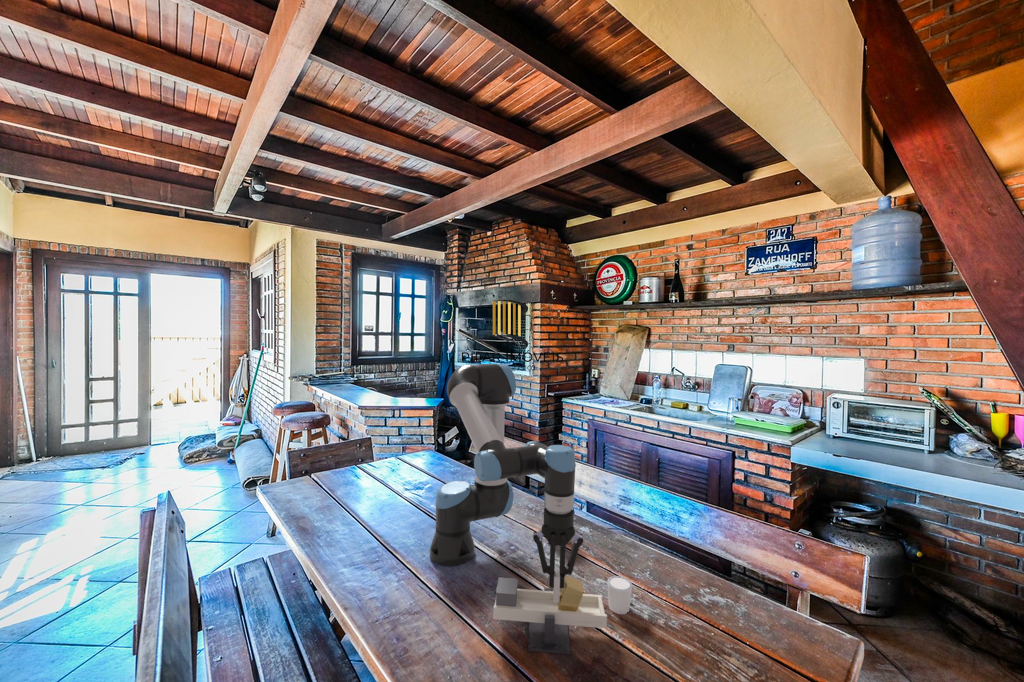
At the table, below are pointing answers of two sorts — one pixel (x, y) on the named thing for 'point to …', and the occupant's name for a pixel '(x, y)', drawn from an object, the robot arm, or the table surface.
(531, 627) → the stand
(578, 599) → the rider
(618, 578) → the shot glass
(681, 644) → the table surface
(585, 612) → the beam
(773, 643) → the table surface
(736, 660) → the table surface
